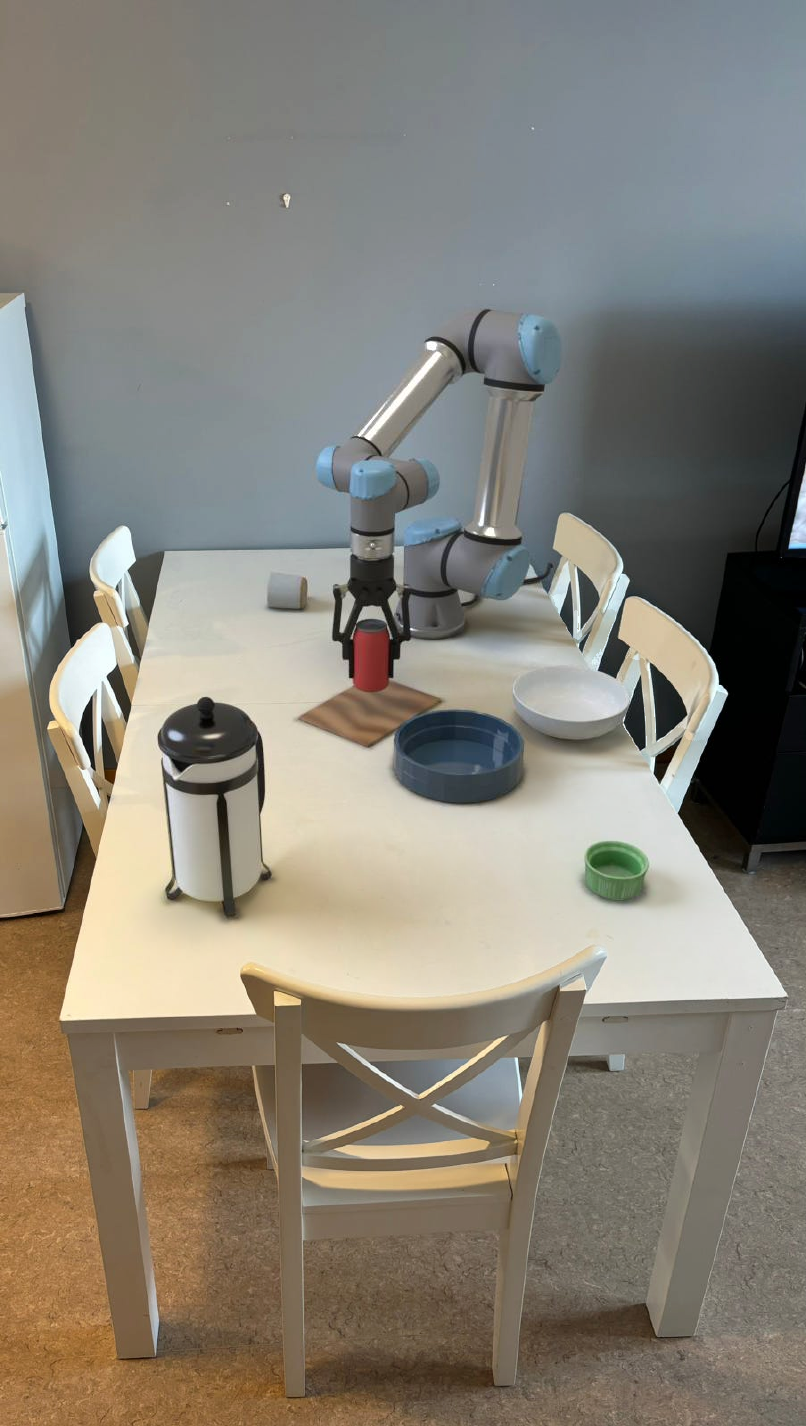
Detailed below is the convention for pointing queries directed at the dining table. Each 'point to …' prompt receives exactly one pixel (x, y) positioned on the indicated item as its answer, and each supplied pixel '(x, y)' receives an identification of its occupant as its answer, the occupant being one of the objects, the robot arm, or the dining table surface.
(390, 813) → the dining table surface
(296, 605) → the grey cylinder
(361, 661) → the beer can
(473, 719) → the blue bowl
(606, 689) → the serving bowl
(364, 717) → the wooden cutting board
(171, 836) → the coffee press
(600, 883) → the ramekin
